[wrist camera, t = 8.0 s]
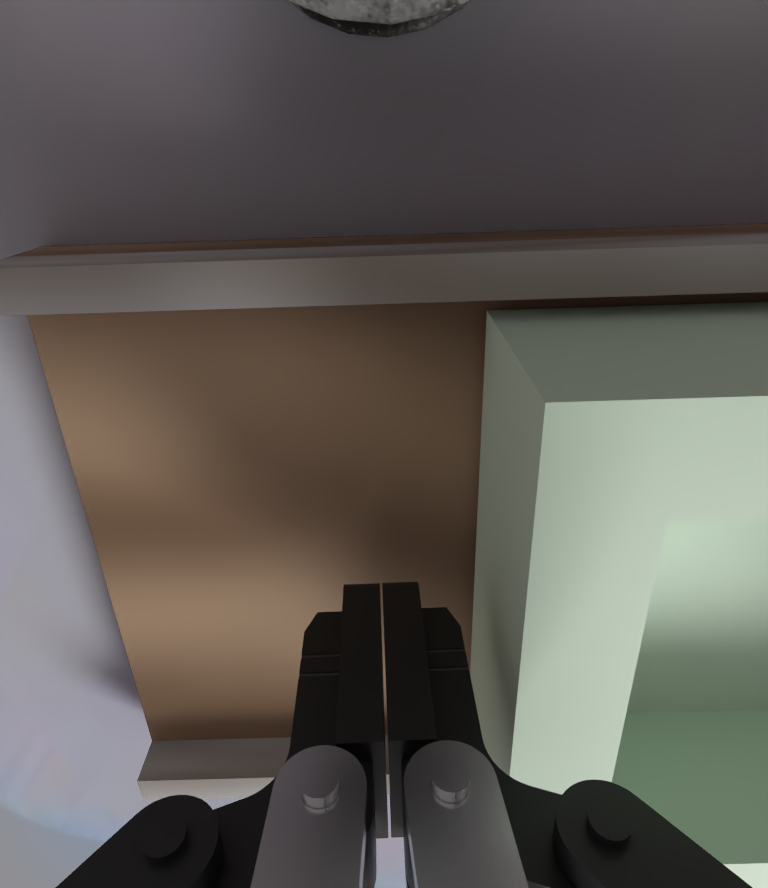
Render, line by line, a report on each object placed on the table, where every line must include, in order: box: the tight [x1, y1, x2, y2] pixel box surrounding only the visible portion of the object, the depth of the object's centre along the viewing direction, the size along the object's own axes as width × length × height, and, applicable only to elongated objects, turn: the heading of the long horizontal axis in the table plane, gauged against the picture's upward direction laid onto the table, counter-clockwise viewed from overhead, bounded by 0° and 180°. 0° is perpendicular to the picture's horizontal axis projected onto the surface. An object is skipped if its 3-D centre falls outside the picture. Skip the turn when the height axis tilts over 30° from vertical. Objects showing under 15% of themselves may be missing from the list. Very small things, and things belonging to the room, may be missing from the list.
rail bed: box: [0, 224, 768, 800], centre depth 11 cm, size 14×22×9 cm, turn 92°
